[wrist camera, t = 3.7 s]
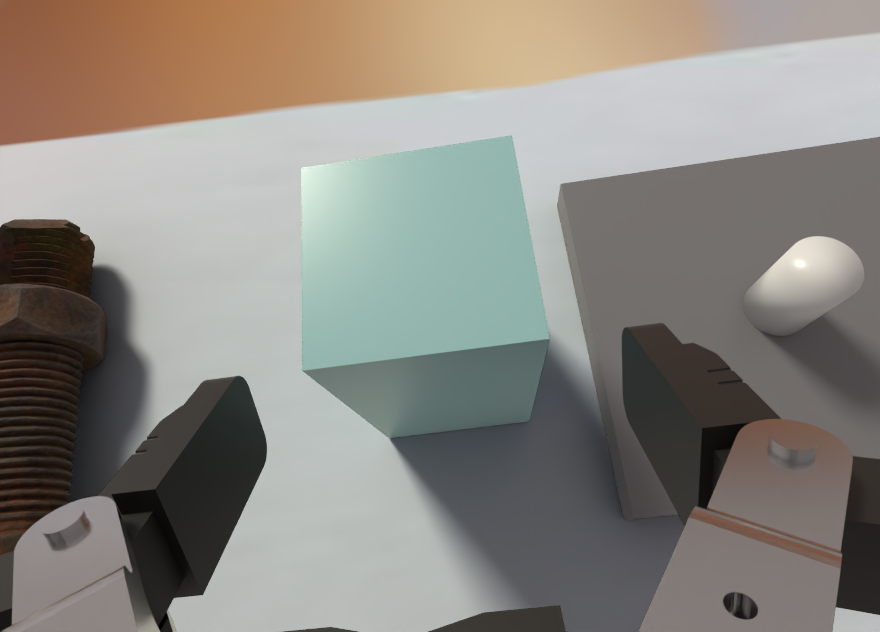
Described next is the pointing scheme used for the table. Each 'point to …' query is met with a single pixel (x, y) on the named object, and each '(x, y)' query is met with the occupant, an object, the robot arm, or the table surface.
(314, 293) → the block
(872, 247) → the base plate
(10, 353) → the bolt
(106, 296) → the table surface
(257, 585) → the table surface
